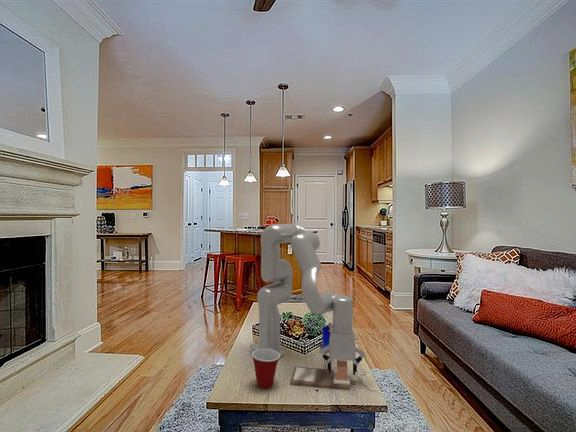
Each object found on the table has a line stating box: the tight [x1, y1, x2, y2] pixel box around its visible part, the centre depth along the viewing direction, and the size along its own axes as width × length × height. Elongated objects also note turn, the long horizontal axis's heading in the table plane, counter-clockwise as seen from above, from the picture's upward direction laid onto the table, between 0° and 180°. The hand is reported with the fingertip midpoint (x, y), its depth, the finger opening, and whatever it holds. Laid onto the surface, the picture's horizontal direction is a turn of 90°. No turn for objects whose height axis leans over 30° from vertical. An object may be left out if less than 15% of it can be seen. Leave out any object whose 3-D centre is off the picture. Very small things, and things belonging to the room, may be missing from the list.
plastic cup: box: [251, 349, 281, 390], centre depth 130 cm, size 11×11×12 cm
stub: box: [333, 359, 351, 386], centre depth 134 cm, size 6×10×6 cm, turn 171°
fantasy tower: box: [318, 322, 333, 355], centre depth 164 cm, size 12×12×12 cm
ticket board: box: [289, 366, 350, 391], centre depth 135 cm, size 22×13×2 cm, turn 81°
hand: (341, 372), depth 134 cm, fingers open, 8 cm apart
